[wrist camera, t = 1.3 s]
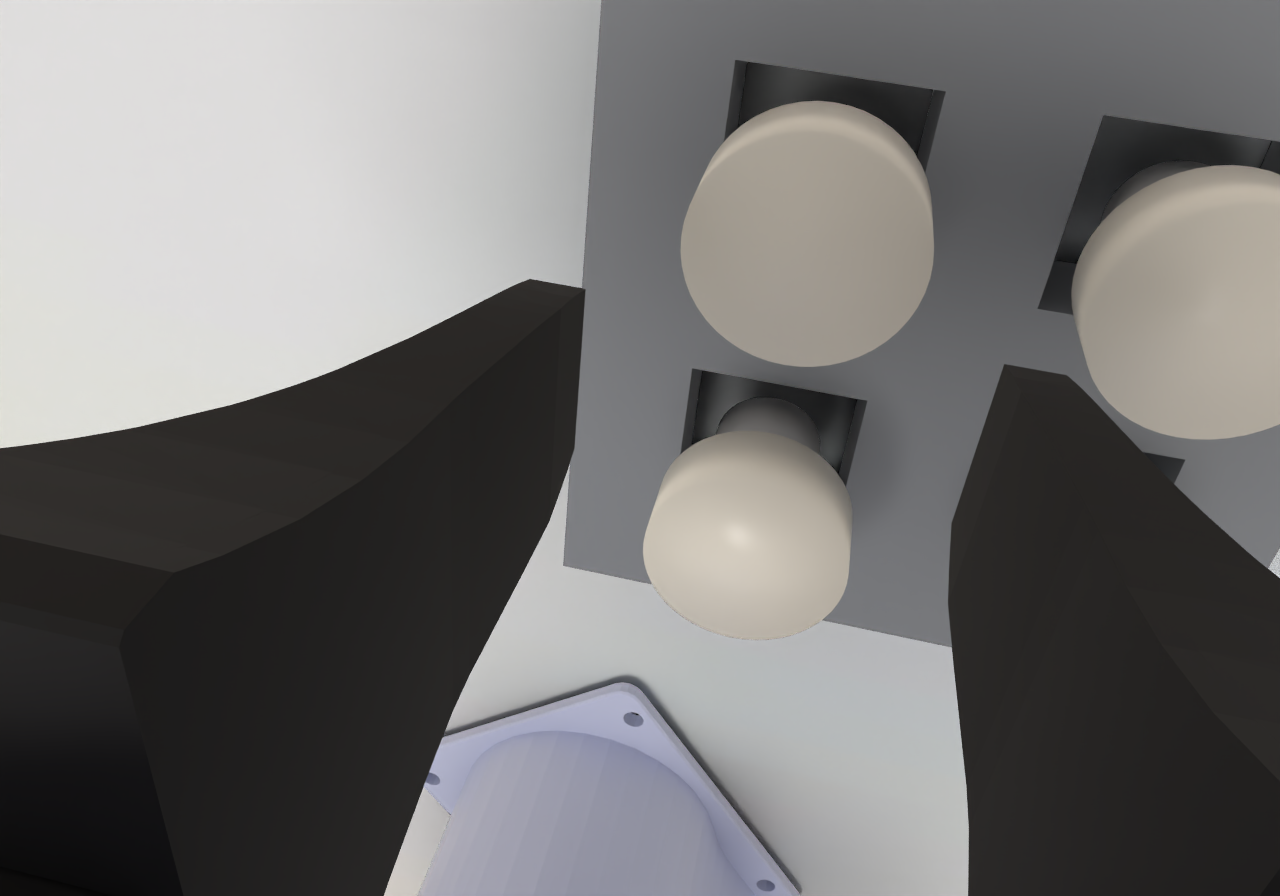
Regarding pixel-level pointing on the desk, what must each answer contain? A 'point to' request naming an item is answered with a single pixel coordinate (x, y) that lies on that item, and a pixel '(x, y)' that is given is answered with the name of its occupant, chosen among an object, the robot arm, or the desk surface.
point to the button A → (752, 526)
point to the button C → (810, 235)
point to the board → (962, 266)
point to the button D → (1186, 300)
